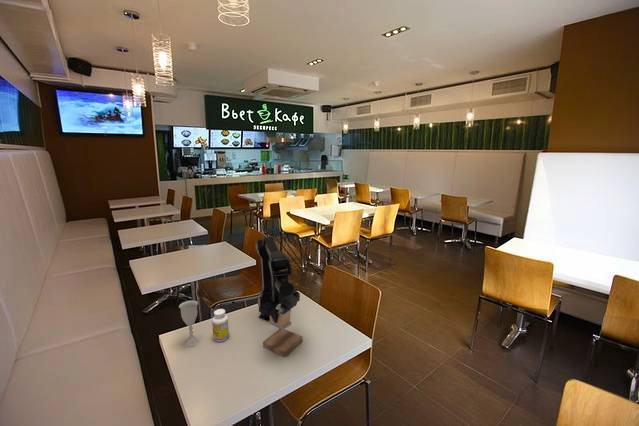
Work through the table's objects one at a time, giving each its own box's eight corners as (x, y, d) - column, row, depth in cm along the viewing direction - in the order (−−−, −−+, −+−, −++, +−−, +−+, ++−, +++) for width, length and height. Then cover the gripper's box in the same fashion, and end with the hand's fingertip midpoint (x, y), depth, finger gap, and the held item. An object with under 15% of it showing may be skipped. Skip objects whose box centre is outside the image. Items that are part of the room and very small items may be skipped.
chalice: (183, 349, 123) (179, 310, 119) (182, 340, 129) (178, 302, 125) (201, 344, 126) (198, 306, 122) (200, 335, 132) (197, 299, 128)
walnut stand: (263, 347, 125) (262, 341, 125) (280, 332, 135) (280, 327, 135) (285, 357, 119) (285, 351, 119) (302, 341, 129) (302, 336, 129)
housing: (283, 330, 120) (283, 314, 119) (269, 323, 125) (268, 308, 123) (291, 324, 124) (291, 309, 123) (277, 318, 129) (276, 303, 127)
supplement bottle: (210, 337, 131) (208, 311, 128) (224, 331, 136) (222, 305, 133) (218, 344, 126) (216, 317, 124) (231, 337, 131) (230, 311, 128)
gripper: (278, 300, 109) (279, 337, 112) (308, 282, 124) (308, 316, 127) (257, 292, 115) (258, 327, 118) (288, 275, 130) (289, 308, 133)
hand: (280, 319), depth 124 cm, fingers closed on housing, 5 cm apart
